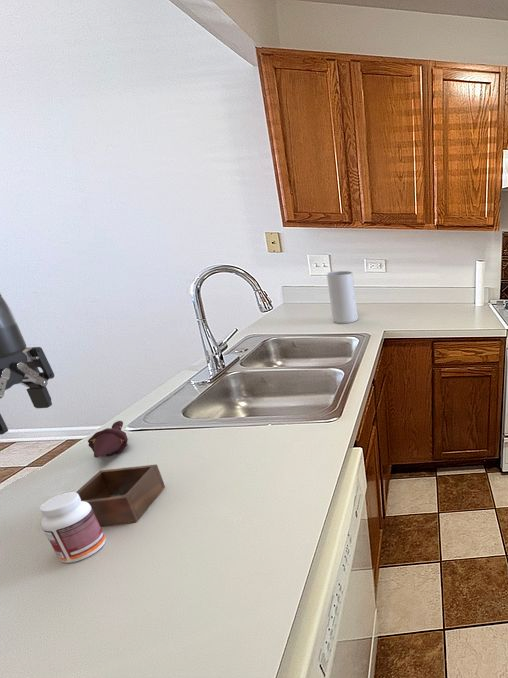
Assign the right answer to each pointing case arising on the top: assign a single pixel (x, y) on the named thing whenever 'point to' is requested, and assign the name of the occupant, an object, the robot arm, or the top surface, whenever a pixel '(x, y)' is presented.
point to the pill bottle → (71, 527)
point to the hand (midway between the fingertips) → (22, 419)
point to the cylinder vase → (342, 296)
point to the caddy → (131, 481)
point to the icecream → (109, 441)
